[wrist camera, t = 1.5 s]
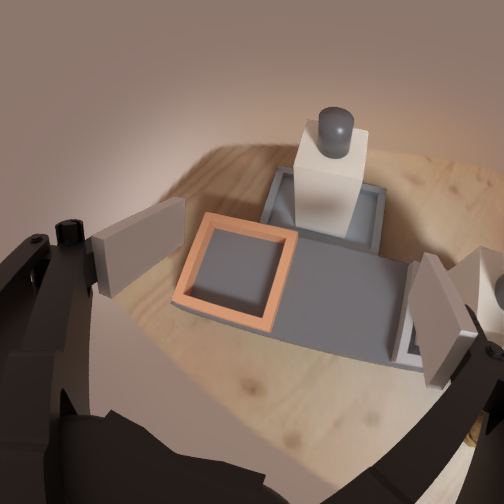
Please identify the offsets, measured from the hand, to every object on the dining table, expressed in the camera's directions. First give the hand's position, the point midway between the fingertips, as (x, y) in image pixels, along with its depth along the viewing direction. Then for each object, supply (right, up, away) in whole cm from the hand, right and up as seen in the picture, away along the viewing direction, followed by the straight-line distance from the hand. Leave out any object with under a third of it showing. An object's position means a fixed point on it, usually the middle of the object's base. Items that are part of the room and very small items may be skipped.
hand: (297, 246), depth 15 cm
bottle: (+5, +4, +15) cm, 16 cm away
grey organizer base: (+6, -5, +12) cm, 14 cm away
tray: (+5, +4, +15) cm, 17 cm away
